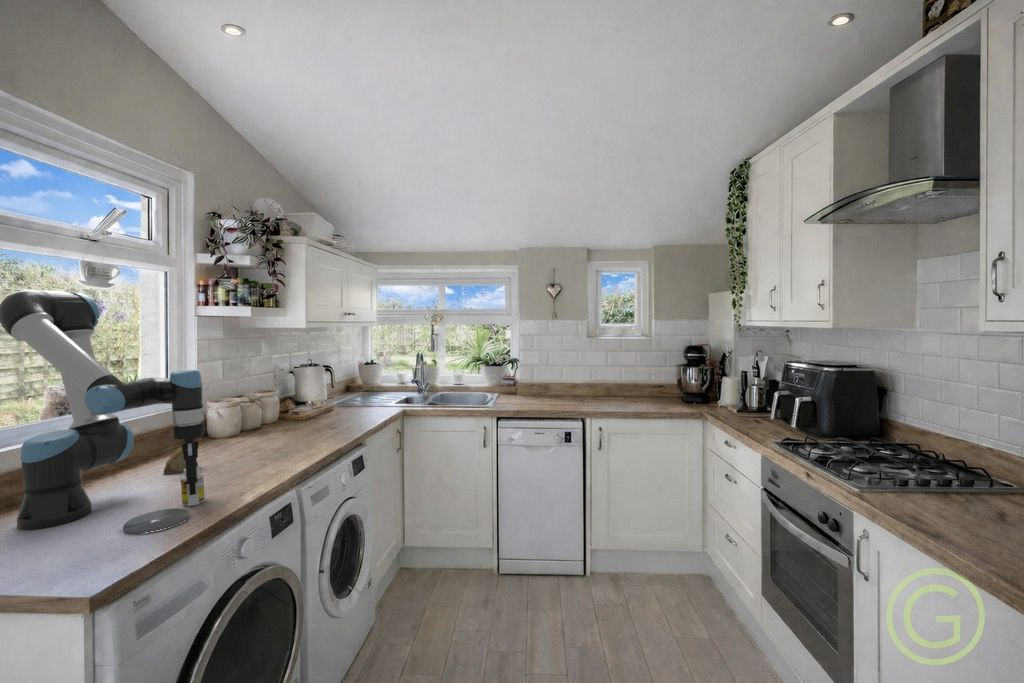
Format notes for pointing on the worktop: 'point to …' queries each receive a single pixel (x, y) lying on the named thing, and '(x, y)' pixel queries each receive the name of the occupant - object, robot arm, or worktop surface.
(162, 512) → the plate
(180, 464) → the rock
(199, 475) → the supplement bottle
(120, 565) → the worktop surface
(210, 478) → the worktop surface
